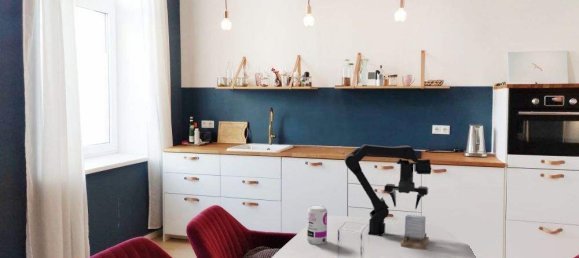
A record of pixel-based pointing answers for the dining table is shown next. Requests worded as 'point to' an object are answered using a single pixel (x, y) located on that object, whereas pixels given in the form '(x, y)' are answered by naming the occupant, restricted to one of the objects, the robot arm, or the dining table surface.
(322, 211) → the supplement can
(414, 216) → the medicine box
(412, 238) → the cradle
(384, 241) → the dining table surface
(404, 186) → the robot arm
